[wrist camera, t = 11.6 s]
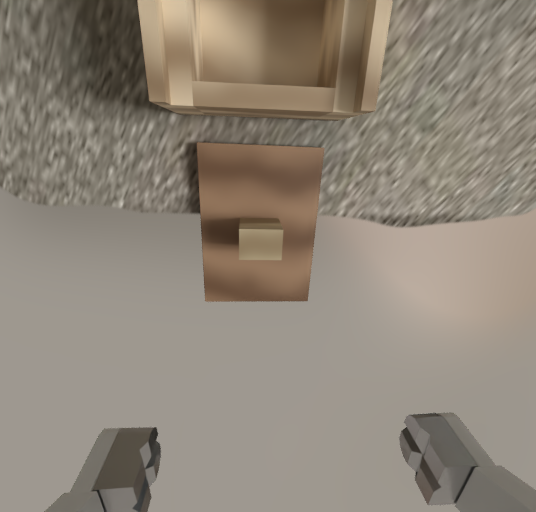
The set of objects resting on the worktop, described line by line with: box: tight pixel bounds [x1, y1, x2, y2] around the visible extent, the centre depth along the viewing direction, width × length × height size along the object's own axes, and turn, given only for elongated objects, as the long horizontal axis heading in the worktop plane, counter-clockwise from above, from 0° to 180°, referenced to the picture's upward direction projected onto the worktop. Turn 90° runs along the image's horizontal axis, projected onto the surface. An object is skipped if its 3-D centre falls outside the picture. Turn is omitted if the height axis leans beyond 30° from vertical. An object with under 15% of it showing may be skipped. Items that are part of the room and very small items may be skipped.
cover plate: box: [197, 142, 324, 301], centre depth 28 cm, size 17×12×6 cm
